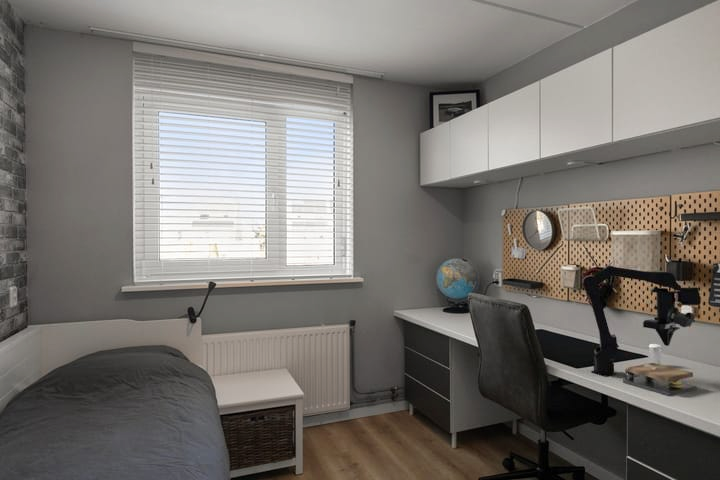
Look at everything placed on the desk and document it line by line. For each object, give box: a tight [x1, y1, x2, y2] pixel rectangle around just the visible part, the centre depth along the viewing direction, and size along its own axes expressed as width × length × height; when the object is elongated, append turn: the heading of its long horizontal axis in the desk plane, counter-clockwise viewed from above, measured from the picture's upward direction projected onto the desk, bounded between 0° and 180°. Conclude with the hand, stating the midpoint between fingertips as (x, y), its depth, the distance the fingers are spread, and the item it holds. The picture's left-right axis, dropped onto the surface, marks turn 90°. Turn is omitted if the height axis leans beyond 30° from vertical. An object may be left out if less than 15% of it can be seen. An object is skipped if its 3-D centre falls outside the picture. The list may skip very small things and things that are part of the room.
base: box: [622, 372, 698, 397], centre depth 157 cm, size 16×16×4 cm
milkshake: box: [648, 343, 664, 365], centre depth 183 cm, size 4×5×10 cm
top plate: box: [624, 362, 694, 382], centre depth 158 cm, size 15×14×3 cm
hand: (666, 345), depth 164 cm, fingers closed
